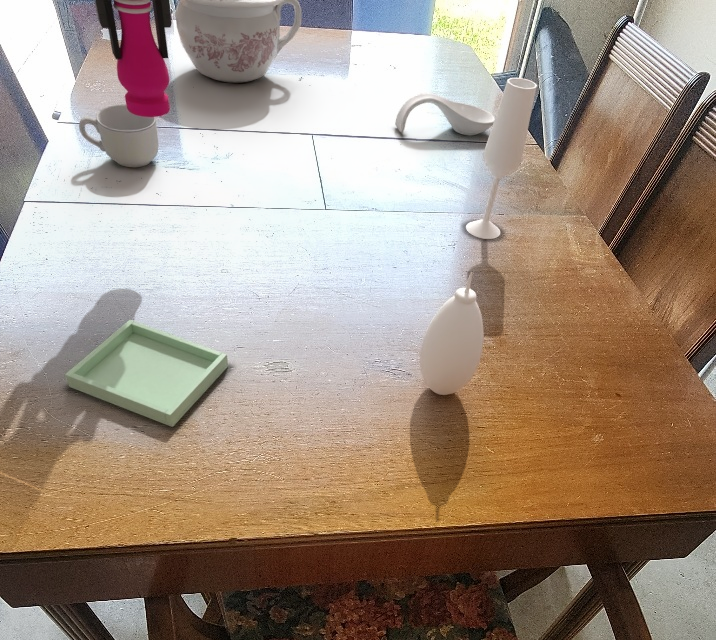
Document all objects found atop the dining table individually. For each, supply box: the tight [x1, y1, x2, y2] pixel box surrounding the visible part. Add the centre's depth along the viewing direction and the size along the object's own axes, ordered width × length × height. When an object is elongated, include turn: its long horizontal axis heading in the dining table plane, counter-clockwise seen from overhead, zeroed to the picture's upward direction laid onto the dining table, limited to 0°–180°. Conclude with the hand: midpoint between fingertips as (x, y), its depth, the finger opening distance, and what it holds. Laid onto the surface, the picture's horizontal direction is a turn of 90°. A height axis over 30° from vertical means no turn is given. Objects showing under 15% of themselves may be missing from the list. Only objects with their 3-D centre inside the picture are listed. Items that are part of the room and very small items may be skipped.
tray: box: [64, 319, 229, 428], centre depth 80 cm, size 16×14×2 cm
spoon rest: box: [394, 92, 496, 136], centre depth 140 cm, size 24×12×7 cm, turn 105°
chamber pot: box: [175, 0, 303, 84], centre depth 144 cm, size 28×28×21 cm
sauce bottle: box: [419, 272, 485, 396], centre depth 78 cm, size 8×8×18 cm
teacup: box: [78, 103, 159, 168], centre depth 115 cm, size 14×11×8 cm
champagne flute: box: [465, 77, 538, 240], centre depth 105 cm, size 7×7×24 cm
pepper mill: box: [112, 0, 171, 118], centre depth 83 cm, size 7×7×20 cm
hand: (140, 55), depth 86 cm, fingers closed on pepper mill, 6 cm apart
